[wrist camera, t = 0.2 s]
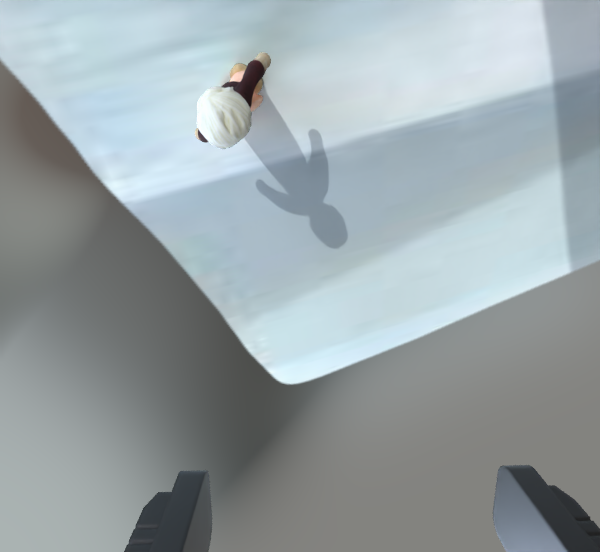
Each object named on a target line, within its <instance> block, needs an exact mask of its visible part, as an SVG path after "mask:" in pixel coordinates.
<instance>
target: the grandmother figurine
mask: <svg viewBox="0 0 600 552" xmlns="http://www.w3.org/2000/svg"><path fill="white" fill-rule="evenodd" d="M270 63H271V59H270V56H269V55H268V54H267V53H265V52H261V53H259V54H258V55H257V56H256V58H255V59H254V60H253V61H251V62H250V63H249V64H248V66H246V65H244V64H241V63H238V64H236V65H234V67H233V68H232V70H231V72H230V78H231V79H230V81H229V82H227V83H225V84H224V85H223V86H221V87H220V86H217V87H211V88H209V89H207V90H206V92H205V93H204V94H203V95H202V96H201V97H200V98H199V100H198V103H197V112H198V116H197V127H198V128H197V129H196V130H195V135H196V137H197V139H199V140H201V141H202V142H209V143H211V144H212V145H213V146H214V147H216V148H220V149H226V148H230V147H232V146H233V145H235V144H236V143H238V142H239V141H240V140H241V139H243V138H244V137H245V136H246V134H247V133H248V132H249V130H250V127H251V112H252V111H254V110H255V109H257V108H258V107H259V106H260V104H261V103H262V101H263V97H262V96H261V95H257V94H258V93H259V92H260V90H261V89H262V86H263V81H262V77H263V75H264V73H265V71H266V69H267V68H268V67H269V66H270Z"/></svg>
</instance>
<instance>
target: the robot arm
mask: <svg viewBox="0 0 600 552" xmlns="http://www.w3.org/2000/svg"><path fill="white" fill-rule="evenodd" d="M493 520H494V525H495V529H496V532H497V535H498V537H499V539H500V541H501V543H502V545H503V546H504V548H505V550H506V552H600V529H599V528H598V526H597V525H596V524H595V523H594V521H591V520H590V517H589V516H588V515H587V513H586V512H585V511H584V510H583V509H582V508H581V506H580V505H579V504H578V503H577V502H576V501H575V500H574V499H573V498H571V497H570V496H569V495H567V494H566V493H564V492H563V491H561V490H560V489H559V488H557V487H556V486H548V485H547V484H546V482H545V481H544V480H543V479H542V478H541V476H540V475H539V474H538V473H537V471H536V470H535V469H534V468H533V467H531V466H529V465H519V466H518V465H517V466H501V467H500V468H499V470H498V476H497V484H496V492H495V500H494V508H493ZM211 533H212V509H211V494H210V480H209V473H208V471H180V472H179V474H178V477H177V479H176V482H175V484H174V487H173V490H172V492H158V493H157V495H155V497H154V498H153V499H152V500H151V501H150V502H149V503H148V504H147V505H146V506H145V507H144V508H143V510H142V513H141V515H140V517H139V520H138V522H137V524H136V528H135V529H134V531H133V533H132V535H131V537H130V540H129V544H128V545H127V547H126V549H125V551H124V552H208V550H209V546H210V540H211Z"/></svg>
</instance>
